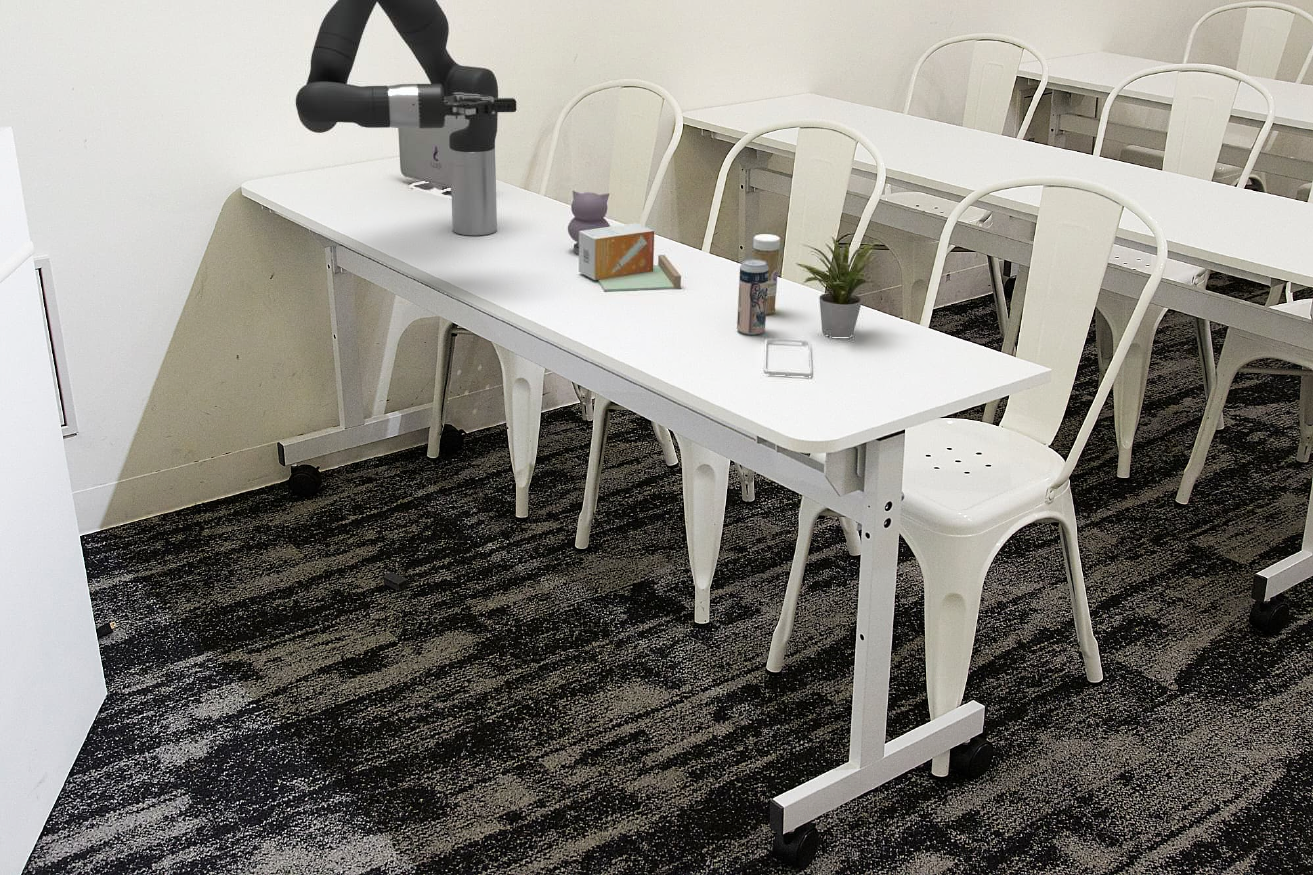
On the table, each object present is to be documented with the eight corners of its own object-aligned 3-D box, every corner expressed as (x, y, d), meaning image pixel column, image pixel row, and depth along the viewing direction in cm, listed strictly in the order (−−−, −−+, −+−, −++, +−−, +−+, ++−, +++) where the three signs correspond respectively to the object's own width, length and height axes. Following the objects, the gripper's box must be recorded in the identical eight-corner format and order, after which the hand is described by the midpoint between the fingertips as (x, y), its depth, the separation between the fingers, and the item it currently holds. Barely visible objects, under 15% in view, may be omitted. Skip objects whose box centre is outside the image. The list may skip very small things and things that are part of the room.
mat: (591, 269, 251) (591, 257, 250) (664, 266, 254) (664, 254, 253) (604, 291, 239) (604, 278, 238) (680, 288, 242) (680, 275, 241)
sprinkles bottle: (772, 317, 228) (777, 241, 223) (746, 313, 229) (751, 238, 224) (778, 309, 232) (783, 234, 227) (753, 306, 233) (757, 232, 228)
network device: (393, 184, 311) (388, 98, 303) (422, 179, 317) (418, 94, 309) (467, 203, 296) (464, 113, 288) (495, 197, 302) (493, 108, 294)
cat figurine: (562, 255, 260) (561, 195, 255) (575, 245, 267) (575, 186, 262) (603, 259, 258) (603, 199, 253) (615, 249, 265) (616, 190, 260)
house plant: (833, 312, 231) (841, 221, 224) (898, 332, 222) (908, 238, 215) (780, 330, 222) (787, 235, 215) (845, 351, 213) (854, 253, 206)
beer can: (756, 338, 218) (760, 268, 213) (731, 332, 220) (734, 263, 215) (770, 330, 221) (774, 261, 217) (745, 325, 224) (748, 256, 219)
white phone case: (811, 381, 202) (809, 348, 215) (812, 373, 201) (810, 340, 215) (763, 378, 202) (764, 345, 216) (763, 370, 202) (765, 338, 215)
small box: (594, 239, 240) (655, 229, 247) (577, 230, 245) (637, 222, 251) (594, 281, 243) (654, 271, 250) (578, 272, 248) (636, 262, 255)
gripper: (416, 90, 220) (520, 89, 224) (413, 78, 232) (511, 77, 235) (418, 135, 223) (520, 133, 227) (415, 121, 235) (512, 119, 238)
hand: (515, 105), depth 231 cm, fingers closed
